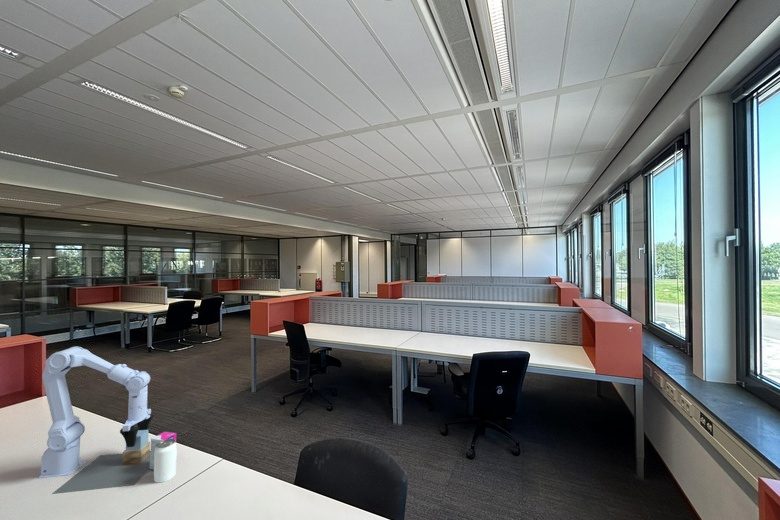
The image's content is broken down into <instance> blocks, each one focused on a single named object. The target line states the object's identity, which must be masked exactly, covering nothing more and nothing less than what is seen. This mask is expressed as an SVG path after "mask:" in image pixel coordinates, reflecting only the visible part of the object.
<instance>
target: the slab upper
mask: <svg viewBox="0 0 780 520" xmlns="http://www.w3.org/2000/svg"><path fill="white" fill-rule="evenodd" d="M149 449H150V450H151V441H148V443H147V444H146V445H145V446H144V447H143V448H142V449H141V450H130V451H126V449H124V450H123V451H122V453H123V459H125V458H135V457H141V456H142V455H143V454H144V453H145V452H146V451H147V450H149Z"/></svg>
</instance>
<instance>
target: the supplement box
mask: <svg viewBox="0 0 780 520" xmlns="http://www.w3.org/2000/svg"><path fill="white" fill-rule="evenodd" d="M167 439H174V440H175V443H176V444H177V432H170V431H163V432H161V433H159V434H158V435H155V436H154V437H152V438H151V439H150V469H149V470H150V471H154V451H155V448H156V445H157V444H158V443H159V442H161V441H163V440H167Z"/></svg>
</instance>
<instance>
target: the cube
mask: <svg viewBox="0 0 780 520" xmlns="http://www.w3.org/2000/svg"><path fill="white" fill-rule="evenodd" d="M148 442H149V429H148V430H138V432H137V435H136V441H135V445H134V447H127V445H126V444H125V450H126V451H130V450H141V449H142V448H143V447H144V446H145V445H146V444H147V443H148Z"/></svg>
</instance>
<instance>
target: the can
mask: <svg viewBox="0 0 780 520" xmlns="http://www.w3.org/2000/svg"><path fill="white" fill-rule="evenodd" d="M177 445H178V444H177V442H176V443H175V440H174V439H167V440H163V441H161V442H159V443H158V444H157V445H156V448H155V451H154V470H153V482H154V483H164V482H167V481H170V480H172V479H173V478H174V477H175V476H176V474H177V448H178V447H177Z"/></svg>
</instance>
